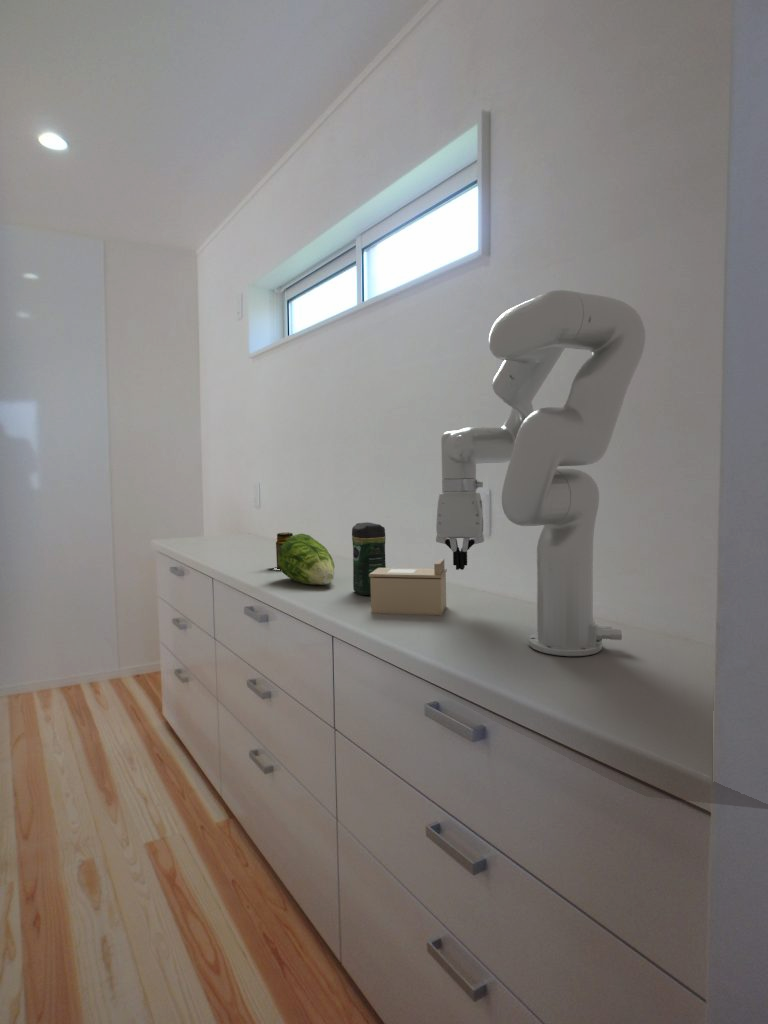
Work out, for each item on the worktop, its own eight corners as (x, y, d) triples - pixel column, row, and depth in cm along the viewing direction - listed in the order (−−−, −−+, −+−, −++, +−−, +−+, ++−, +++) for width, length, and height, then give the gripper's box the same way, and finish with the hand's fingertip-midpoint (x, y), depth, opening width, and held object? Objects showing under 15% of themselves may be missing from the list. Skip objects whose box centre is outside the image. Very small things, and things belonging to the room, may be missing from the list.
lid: (446, 571, 137) (446, 558, 137) (441, 578, 129) (441, 564, 128) (378, 570, 141) (378, 557, 141) (369, 576, 133) (368, 563, 132)
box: (446, 606, 137) (445, 572, 137) (441, 615, 130) (440, 579, 129) (379, 604, 141) (379, 571, 141) (371, 612, 133) (370, 577, 133)
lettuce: (307, 607, 160) (304, 562, 155) (274, 577, 178) (269, 536, 174) (352, 593, 167) (350, 549, 162) (315, 566, 185) (312, 526, 181)
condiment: (300, 568, 197) (299, 532, 196) (279, 572, 191) (277, 535, 190) (287, 566, 202) (286, 531, 201) (266, 569, 196) (265, 533, 195)
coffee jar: (391, 594, 152) (389, 523, 151) (362, 597, 149) (360, 525, 148) (376, 587, 161) (375, 520, 160) (349, 590, 158) (347, 522, 157)
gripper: (494, 485, 132) (495, 566, 134) (428, 486, 136) (430, 565, 137) (492, 487, 125) (493, 572, 126) (422, 488, 129) (424, 571, 130)
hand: (460, 568), depth 132 cm, fingers closed
